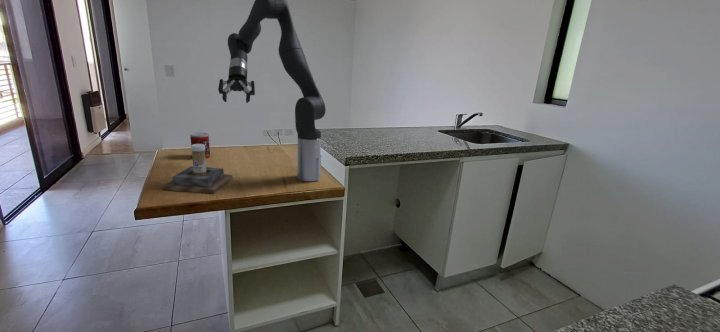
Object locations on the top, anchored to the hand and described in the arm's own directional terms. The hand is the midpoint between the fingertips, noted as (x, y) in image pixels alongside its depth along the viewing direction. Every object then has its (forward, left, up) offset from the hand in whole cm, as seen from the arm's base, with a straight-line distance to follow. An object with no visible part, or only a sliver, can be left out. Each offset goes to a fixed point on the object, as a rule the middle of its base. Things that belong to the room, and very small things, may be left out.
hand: (236, 101), depth 137 cm
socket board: (+6, +22, -29) cm, 36 cm away
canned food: (+22, -11, -29) cm, 38 cm away
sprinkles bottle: (+6, +21, -27) cm, 35 cm away
